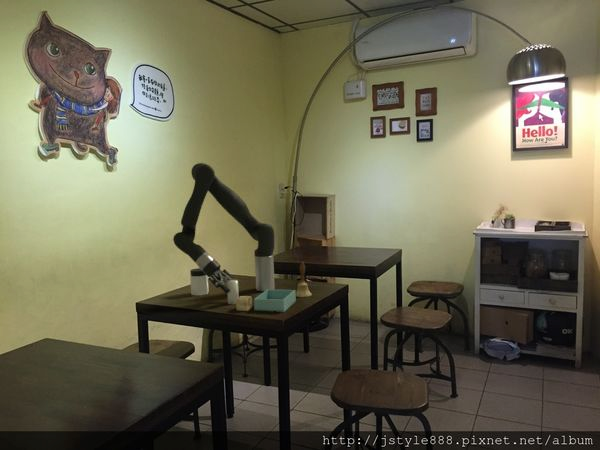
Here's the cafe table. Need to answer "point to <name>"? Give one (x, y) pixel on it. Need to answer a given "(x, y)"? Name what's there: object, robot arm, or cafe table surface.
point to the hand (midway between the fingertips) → (232, 289)
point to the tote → (274, 300)
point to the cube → (244, 303)
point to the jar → (198, 282)
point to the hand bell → (302, 284)
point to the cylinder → (232, 291)
